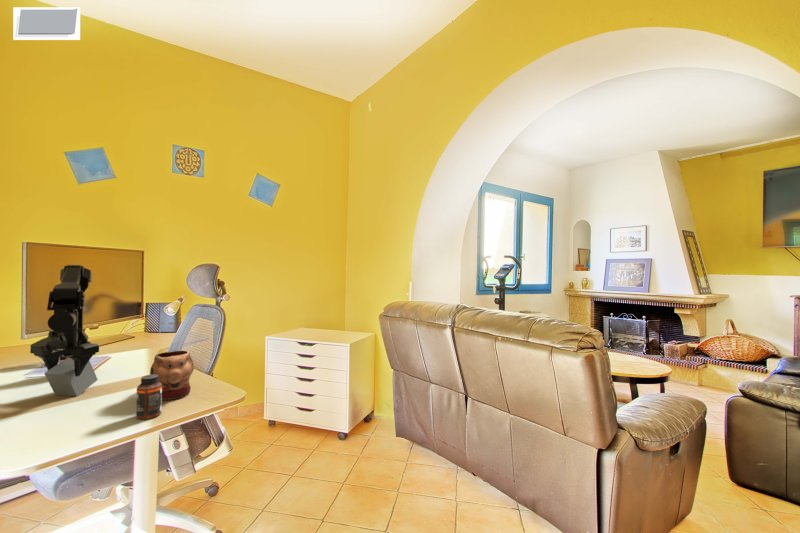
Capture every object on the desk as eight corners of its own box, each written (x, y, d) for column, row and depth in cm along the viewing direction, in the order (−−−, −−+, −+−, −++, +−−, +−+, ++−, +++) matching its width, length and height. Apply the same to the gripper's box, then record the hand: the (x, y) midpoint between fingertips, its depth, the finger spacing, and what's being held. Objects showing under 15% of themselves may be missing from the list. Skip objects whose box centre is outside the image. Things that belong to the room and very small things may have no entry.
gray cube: (55, 394, 115) (44, 373, 112) (77, 378, 122) (67, 357, 119) (77, 396, 115) (66, 374, 111) (97, 379, 122) (88, 358, 118)
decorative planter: (144, 390, 122) (145, 349, 122) (184, 382, 130) (185, 344, 130) (156, 407, 107) (157, 361, 107) (201, 398, 116) (202, 355, 116)
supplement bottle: (166, 412, 105) (167, 373, 104) (150, 421, 99) (151, 380, 99) (147, 410, 105) (148, 372, 105) (130, 419, 99) (131, 378, 99)
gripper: (10, 329, 107) (9, 381, 107) (65, 332, 105) (64, 385, 105) (50, 323, 118) (49, 370, 118) (101, 326, 116) (100, 374, 116)
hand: (64, 375), depth 114 cm, fingers open, 9 cm apart
